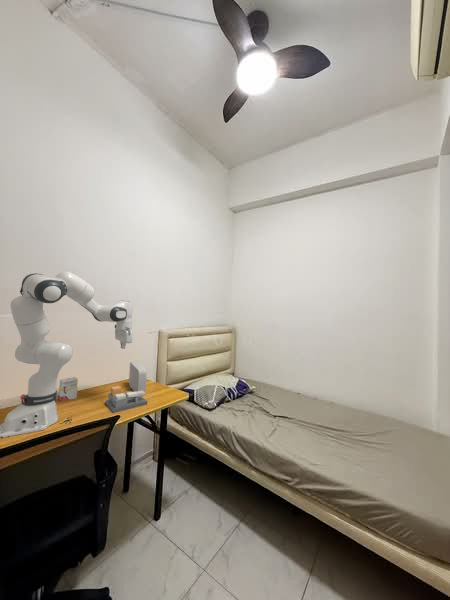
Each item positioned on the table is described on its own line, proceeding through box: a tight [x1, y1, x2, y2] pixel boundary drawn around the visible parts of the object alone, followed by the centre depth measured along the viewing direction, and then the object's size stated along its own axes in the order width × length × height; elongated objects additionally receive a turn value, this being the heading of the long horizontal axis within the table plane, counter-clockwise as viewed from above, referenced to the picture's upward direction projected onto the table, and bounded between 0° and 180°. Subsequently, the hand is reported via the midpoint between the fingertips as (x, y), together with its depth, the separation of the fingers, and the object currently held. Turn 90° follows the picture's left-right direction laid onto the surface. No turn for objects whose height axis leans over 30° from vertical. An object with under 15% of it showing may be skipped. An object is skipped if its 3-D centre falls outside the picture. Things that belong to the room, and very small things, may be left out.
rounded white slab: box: [128, 361, 147, 393], centre depth 164 cm, size 26×7×17 cm, turn 34°
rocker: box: [125, 391, 146, 398], centre depth 140 cm, size 10×4×2 cm, turn 132°
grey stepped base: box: [104, 392, 148, 414], centre depth 139 cm, size 19×15×6 cm
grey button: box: [115, 392, 126, 400], centre depth 133 cm, size 4×4×5 cm
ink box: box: [57, 377, 78, 402], centre depth 144 cm, size 9×5×12 cm, turn 138°
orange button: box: [110, 385, 122, 396], centre depth 139 cm, size 4×4×5 cm
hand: (122, 348), depth 148 cm, fingers closed
